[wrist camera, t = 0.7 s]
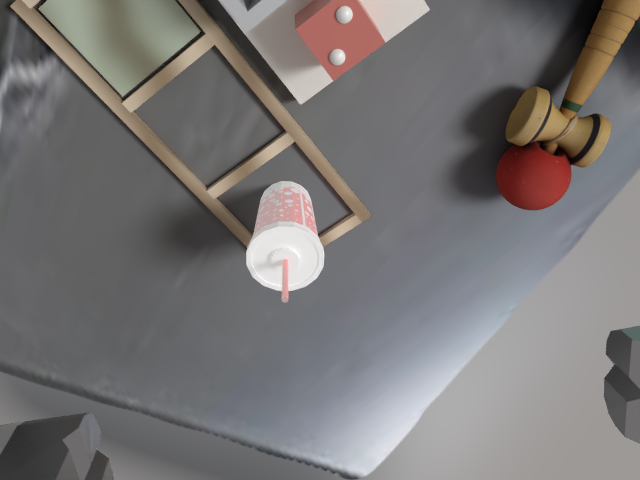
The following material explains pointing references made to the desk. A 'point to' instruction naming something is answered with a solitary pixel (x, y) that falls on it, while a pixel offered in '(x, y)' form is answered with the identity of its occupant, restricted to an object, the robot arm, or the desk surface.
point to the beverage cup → (285, 240)
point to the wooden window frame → (147, 55)
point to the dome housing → (319, 35)
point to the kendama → (562, 120)
